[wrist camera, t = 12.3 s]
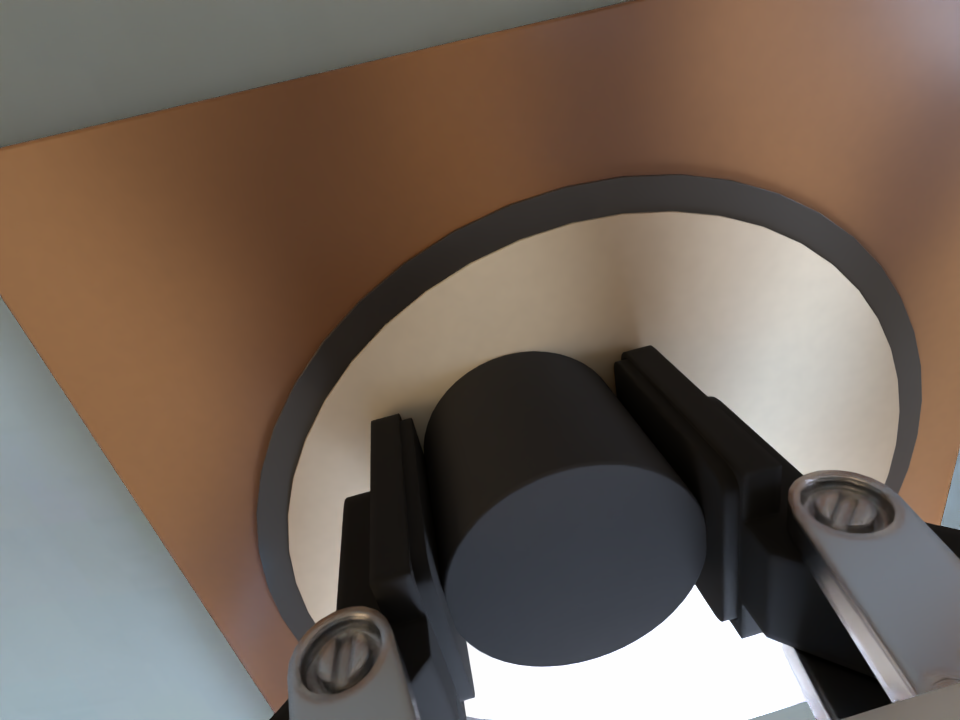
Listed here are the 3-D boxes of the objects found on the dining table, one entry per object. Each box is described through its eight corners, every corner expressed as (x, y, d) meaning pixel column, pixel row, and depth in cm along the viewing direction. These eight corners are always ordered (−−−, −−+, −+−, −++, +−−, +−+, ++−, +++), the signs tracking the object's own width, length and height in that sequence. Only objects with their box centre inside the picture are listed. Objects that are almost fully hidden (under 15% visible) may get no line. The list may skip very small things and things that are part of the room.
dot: (607, 326, 10) (708, 428, 7) (625, 488, 12) (711, 625, 9) (398, 381, 10) (410, 511, 7) (449, 539, 12) (475, 696, 9)
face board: (1019, -88, 10) (1110, -112, 8) (875, 638, 19) (909, 676, 18) (-31, 157, 9) (-95, 169, 7) (359, 797, 18) (357, 849, 17)
